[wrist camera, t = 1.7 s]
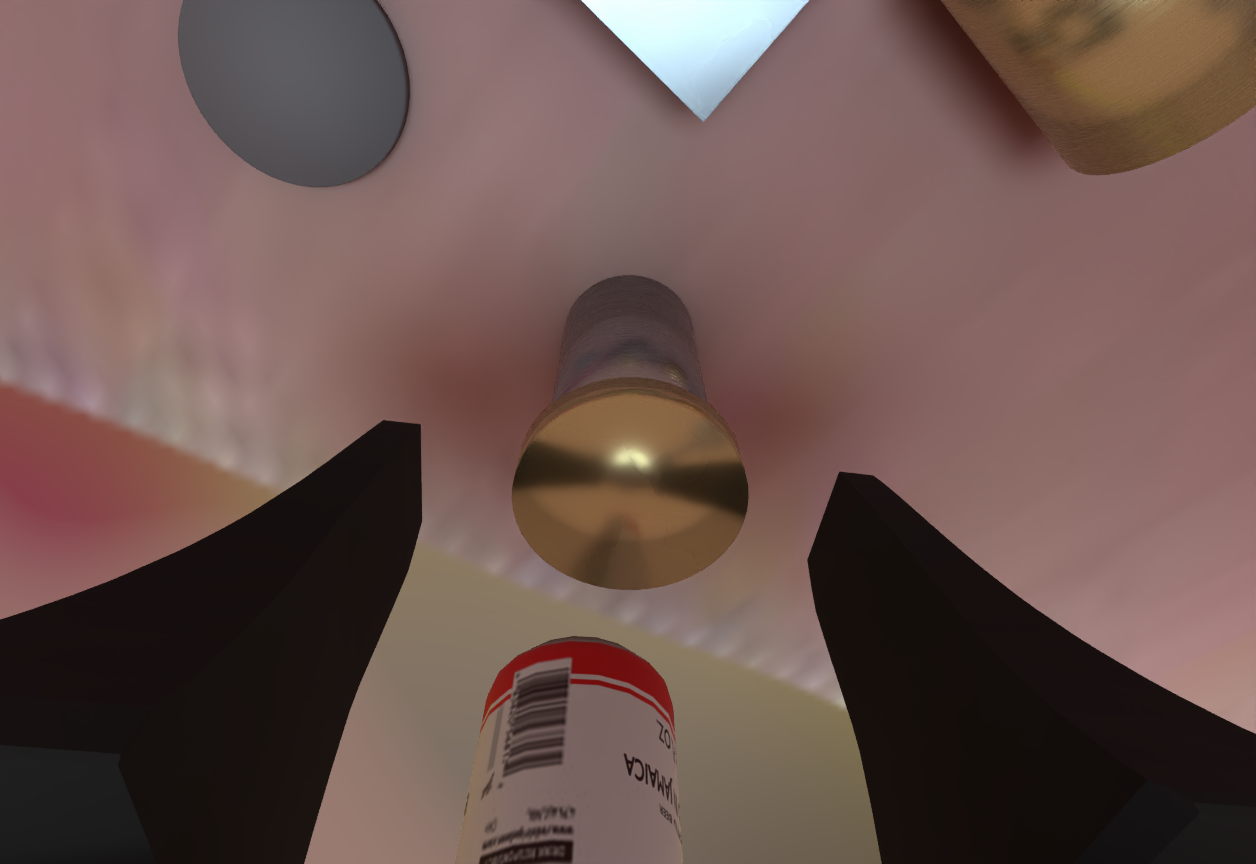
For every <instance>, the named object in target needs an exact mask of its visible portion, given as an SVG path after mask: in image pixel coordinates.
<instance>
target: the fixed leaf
mask: <svg viewBox="0 0 1256 864" xmlns="http://www.w3.org/2000/svg"><path fill="white" fill-rule="evenodd" d="M941 2H942V3H943V4H944V6H945V7H946V8H947V9H948V11H949V12H950V13H951V15H952V16H953V17H954V18H955V20H956V21H957V22H958V24H959V25H960V26H961V28H962V29H963V30H964V31H965V33H966V34H967V35H968V37H969V38H970V39H971V41H972V42H973V43H974V44H975V46H976V47H977V48H978V50H979V51H980V52H981V54H982V55H983V56H984V57H985V59H986V60H987V61H988V63H989V64H990V65H991V66H992V68H993V69H994V70H995V72H996V73H997V74H998V76H999V77H1000V78H1001V79H1002V81H1003V82H1004V83H1005V85H1006V86H1007V87H1008V89H1009V90H1010V91H1011V92H1012V94H1013V95H1014V96H1015V98H1016V99H1017V100H1018V101H1019V103H1020V104H1021V105H1022V107H1023V108H1024V109H1025V111H1026V112H1027V113H1028V114H1029V116H1030V117H1031V118H1032V120H1033V121H1034V122H1035V124H1036V125H1037V126H1038V127H1039V129H1040V130H1041V131H1042V133H1043V134H1044V135H1045V136H1046V138H1047V139H1048V140H1049V142H1050V143H1051V144H1052V146H1053V147H1054V148H1055V149H1056V151H1057V152H1058V153H1059V155H1060V156H1061V157H1062V159H1063V160H1064V161H1065V162H1066V164H1067V165H1068V166H1069V167H1070V168H1071V169H1073V170H1075V171H1076V172H1079V173H1083V174H1088V175H1109V174H1115V173H1121V172H1125V171H1129V170H1133V169H1137V168H1140V167H1143V166H1146V165H1149V164H1152V163H1155V162H1157V161H1160V160H1162V159H1165V158H1167V157H1170V156H1172V155H1174V154H1176V153H1179V152H1181V151H1183V150H1185V149H1187V148H1189V147H1191V146H1193V145H1195V144H1197V143H1198V142H1200V141H1202V140H1204V139H1206V138H1208V137H1209V136H1211V135H1213V134H1214V133H1216V132H1218V131H1219V130H1221V129H1223V128H1224V127H1226V126H1227V125H1229V124H1230V123H1232V122H1233V121H1235V120H1236V119H1238V118H1239V117H1241V116H1242V115H1243V114H1245V113H1246V112H1248V111H1249V110H1250V109H1251V108H1253V107H1254V106H1255V105H1256V0H941Z"/></svg>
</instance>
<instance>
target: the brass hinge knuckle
mask: <svg viewBox="0 0 1256 864" xmlns="http://www.w3.org/2000/svg"><path fill="white" fill-rule="evenodd" d="M582 1H583V2H584V3H585V4H586V5H587V6H588V7H589V8H590V9H591V10H592V11H593V12H594V13H595V14H596V15H597V16H598V17H599V18H600V19H601V20H602V21H603V22H604V23H605V24H606V25H607V26H608V27H609V28H610V29H611V30H612V31H613V32H614V33H615V34H616V35H617V36H618V37H619V38H620V39H621V40H622V41H623V42H624V43H625V44H626V45H627V46H628V47H629V48H630V49H631V50H632V51H633V52H634V53H635V54H636V55H637V56H638V57H639V58H640V59H641V60H642V61H643V62H644V63H645V64H646V65H647V66H648V67H649V68H650V69H651V70H652V71H653V72H654V73H655V74H656V75H657V76H658V77H659V78H660V79H661V80H662V81H663V82H664V83H665V84H666V85H667V86H668V87H669V88H670V89H671V90H672V91H673V92H674V93H675V94H676V95H677V96H678V97H679V98H680V99H681V100H682V101H683V102H684V103H685V104H686V105H687V106H688V107H689V108H690V109H691V110H692V111H693V112H694V113H695V114H696V115H697V116H698V117H699V118H700V119H701V120H702V121H703V122H704V121H705V119H706V118H707V117H708V116H709V115H710V114H711V112H712V111H713V110H714V109H715V108H716V107H717V106H718V104H719V103H720V102H721V101H722V100H723V99H724V98H725V96H726V95H727V94H728V93H729V92H730V91H731V89H732V88H733V87H734V86H735V85H736V84H737V83H738V81H739V80H740V79H741V78H742V77H743V76H744V74H745V73H746V72H747V71H748V70H749V69H750V68H751V66H752V65H753V64H754V63H755V62H756V61H757V59H758V58H759V57H760V56H761V55H762V54H763V53H764V51H765V50H766V49H767V48H768V47H769V46H770V45H771V43H772V42H773V41H774V40H775V39H776V38H777V36H778V35H779V34H780V33H781V32H782V31H783V30H784V28H785V27H786V26H787V25H788V24H789V23H790V21H791V20H792V19H793V18H794V17H795V16H796V15H797V13H798V12H799V11H800V10H801V9H802V8H803V6H804V5H805V4H806V3H807V2H808V1H809V0H582Z"/></svg>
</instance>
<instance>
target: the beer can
mask: <svg viewBox="0 0 1256 864" xmlns="http://www.w3.org/2000/svg"><path fill="white" fill-rule="evenodd" d="M455 864H683V856H682V840H681V824H680V809H679V792H678V776H677V762H676V746H675V729H674V713H673V706H672V702H671V699H670V695H669V692H668V689H667V686H666V683H665V681H664V679H663V678H662V677H661V676H660V675H659V674H658V672H657V671H656V670H655V669H654V668H653V667H652V666H651V665H650V663H648V662H647V661H646V660H644V659H642V658H641V657H639V656H637V655H636V654H635V653H633V652H631V651H630V650H628V649H626V648H625V647H623V646H621V645H619V644H618V643H614V642H611V641H607V640H603V639H600V638H595V637H578V636H572V637H567V638H561V639H554V640H550V641H548V642H546V643H543V644H541V645H539V646H536V647H534V648H532V649H531V650H529V651H526V652H524V653H522V654H520V655H518V656H517V657H516V658H514V659H513V660H512V661H511V662H510V663H509V664H508V665H507V666H506V667H504V668H503V669H502V670H501V671H500V672H499V674H498V675H497V677H496V679H495V681H494V684H493V686H492V688H491V690H490V692H489V694H488V697H487V700H486V705H485V710H484V715H483V720H482V725H481V731H480V736H479V741H478V746H477V751H476V756H475V761H474V767H473V772H472V777H471V782H470V788H469V792H468V798H467V803H466V808H465V814H464V819H463V823H462V829H461V834H460V839H459V844H458V849H457V854H456V860H455Z"/></svg>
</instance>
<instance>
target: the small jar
mask: <svg viewBox="0 0 1256 864" xmlns="http://www.w3.org/2000/svg"><path fill="white" fill-rule="evenodd" d="M512 503H513V511H514V514H515V518H516V522H517V524H518V526H519V528H520V531H521V533H522V535H523V536H524V538H525V539H526V541H527V542H528V544H529V545H530V546H531V547H532V549H533V550H534V551H535V552H536V553H537V554H538V555H539V556H540V557H541V558H542V559H543V560H544V561H546V562H547V563H548V564H550V565H551V566H552V567H554V568H555V569H557V570H558V571H560V572H562V573H564V574H566V575H567V576H569V577H572V578H574V579H576V580H579V581H581V582H584V583H588V584H591V585H594V586H599V587H604V588H610V589H621V590H639V589H649V588H655V587H660V586H665V585H669V584H672V583H675V582H678V581H681V580H683V579H686V578H688V577H690V576H692V575H694V574H696V573H698V572H700V571H702V570H703V569H705V568H706V567H707V566H709V565H710V564H712V563H713V562H714V561H715V560H717V559H718V558H719V557H720V556H721V555H722V554H723V553H724V552H725V551H726V550H727V549H728V547H729V546H730V545H731V544H732V542H733V541H734V539H735V538H736V536H737V535H738V533H739V531H740V529H741V527H742V524H743V522H744V519H745V515H746V512H747V506H748V484H747V479H746V474H745V470H744V466H743V462H742V458H741V454H740V450H739V446H738V443H737V441H736V438H735V436H734V434H733V432H732V430H731V429H730V427H729V425H728V423H727V422H726V421H725V420H724V418H723V417H722V416H721V415H720V413H719V412H718V411H716V410H715V409H714V408H713V407H712V406H711V405H710V404H709V403H708V402H707V399H706V394H705V389H704V384H703V379H702V374H701V369H700V364H699V359H698V353H697V348H696V343H695V338H694V333H693V328H692V323H691V319H690V316H689V313H688V311H687V309H686V307H685V306H684V304H683V302H682V301H681V300H680V298H679V297H678V296H677V295H676V294H675V293H674V292H673V291H671V290H670V289H669V288H668V287H666V286H664V285H663V284H661V283H659V282H657V281H654V280H652V279H649V278H645V277H640V276H617V277H613V278H609V279H606V280H603V281H601V282H599V283H597V284H595V285H593V286H592V287H590V288H589V289H588V290H586V291H585V292H584V293H583V294H582V295H581V296H580V297H579V298H578V300H577V301H576V302H575V303H574V305H573V307H572V309H571V310H570V313H569V315H568V318H567V322H566V327H565V332H564V338H563V343H562V349H561V355H560V360H559V366H558V371H557V377H556V383H555V388H554V394H553V399H552V404H551V405H549V406H548V407H547V408H546V409H545V410H544V411H543V412H542V413H541V414H540V415H539V416H538V418H537V419H536V420H535V421H534V423H533V424H532V426H531V427H530V429H529V431H528V432H527V434H526V436H525V439H524V441H523V444H522V446H521V451H520V455H519V460H518V464H517V468H516V473H515V477H514V482H513V488H512Z"/></svg>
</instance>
